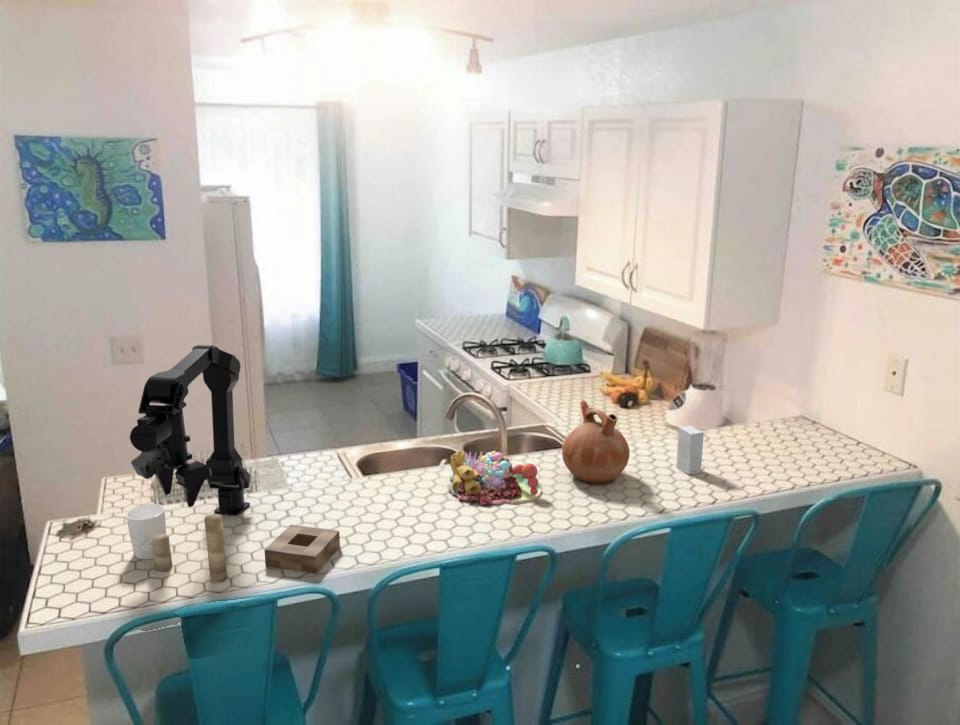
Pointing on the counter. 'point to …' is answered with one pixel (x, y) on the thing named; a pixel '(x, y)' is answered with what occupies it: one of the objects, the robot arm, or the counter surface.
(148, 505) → the white cup
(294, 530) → the walnut socket block
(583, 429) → the jug
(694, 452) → the skincare box
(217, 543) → the tall oak dowel
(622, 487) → the counter surface
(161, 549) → the short oak dowel
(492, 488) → the candy landscape model
